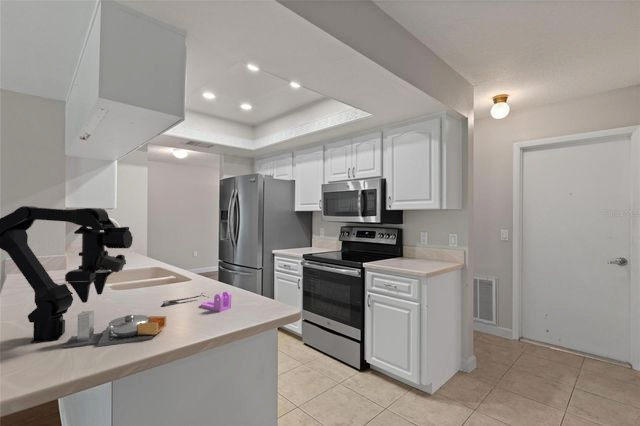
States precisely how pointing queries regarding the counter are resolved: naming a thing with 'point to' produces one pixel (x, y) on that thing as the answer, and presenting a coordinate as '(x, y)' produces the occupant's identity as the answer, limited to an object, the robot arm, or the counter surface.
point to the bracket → (219, 302)
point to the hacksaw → (179, 300)
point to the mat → (74, 343)
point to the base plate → (121, 338)
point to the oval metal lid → (136, 325)
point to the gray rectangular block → (85, 326)
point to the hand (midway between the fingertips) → (92, 298)
